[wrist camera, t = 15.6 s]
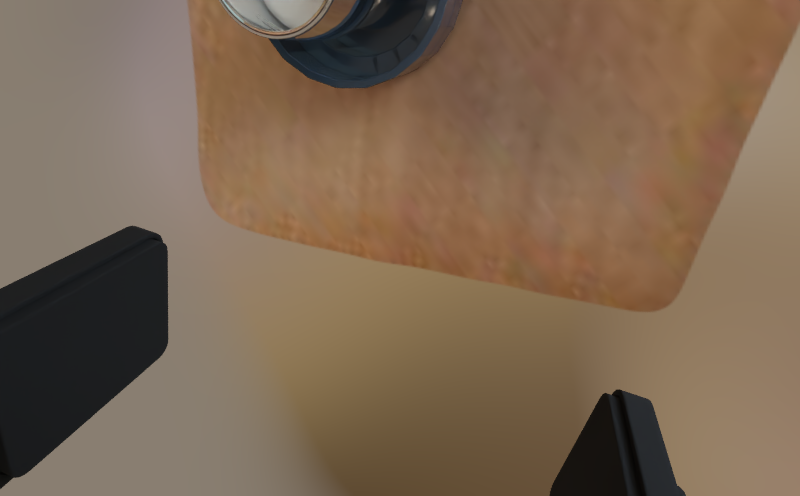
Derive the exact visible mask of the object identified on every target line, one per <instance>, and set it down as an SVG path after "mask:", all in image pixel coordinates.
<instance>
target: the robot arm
mask: <svg viewBox="0 0 800 496" xmlns="http://www.w3.org/2000/svg"><path fill="white" fill-rule="evenodd" d="M167 253H168V251H167V246H166V244H164V243H163V240H162V238H161V236H160V235H159V234H157V233H154V232H151V231H148V230H145V229H142V228H139V227H136V226H129V227H126V228H125V229H122V230H120V231H118V232H116V233H114V234H112V235H110V236H108V237H106V238H104V239H102V240H100V241H98V242H96V243H93V244H91V245H89V246H87V247H85V248H83V249H81V250H79V251H77V252H75V253H73V254H71V255H69V256H67V257H65V258H63V259H61V260H58V261H56V262H54V263H52V264H50V265H48V266H46V267H44V268H42V269H40V270H38V271H36V272H34V273H32V274H30V275H28V276H26V277H24V278H21V279H19V280H17V281H15V282H13V283H11V284H9V285H7V286H5V287H3V288H1V289H0V489H1V488H2V487H3V486H4V485H5V484H7V483H8V482H9V481H10V480H11V479H12V478H14V477H15V478H16V477H21V476H23V475H25V474H26V473H27V472H29V471H30V470H31V469H32V468H33V467H35V466H36V465H37V464H38V463H39V462H40V461H42V460H43V459H44V458H45V457H46V456H47V455H48V454H50V453H51V452H52V451H53V450H54V449H55V448H56V447H58V446H59V445H60V444H61V443H62V442H63V441H64V440H66V438H68V437H69V436H70V435H71V434H72V433H74V432H75V431H76V430H77V429H78V428H79V427H80V426H82V425H83V424H84V423H85V422H86V421H87V420H88V419H90V418H91V417H92V416H93V415H94V414H95V413H97V411H99V410H100V409H101V408H102V407H103V406H105V404H107V403H108V402H109V401H110V400H111V399H113V398H114V397H115V396H116V395H117V394H118V393H119V392H121V391H122V390H123V389H124V388H125V387H126V386H127V385H129V384H130V383H131V382H132V381H133V380H134V379H135V378H137V377H138V376H139V375H140V374H141V373H142V372H144V370H146V369H147V368H148V367H149V366H150V365H151V364H153V363H154V362H155V361H156V360H157V359H158V358H160V356H161V355H162V354H163V353H164V351H165V349H166V347H167V344H168V258H167V257H168V254H167ZM550 496H686V495H685V492H684V491H683V490H682V489H681V488H680V487H679V486H677V484H676V481H675V477H674V474H673V471H672V467H671V464H670V461H669V458H668V454H667V451H666V448H665V444H664V441H663V438H662V434H661V431H660V428H659V424H658V421H657V418H656V415H655V411H654V408H653V405H652V403H651V401H650V400H648V399H646V398H643V397H640V396H637V395H634V394H631V393H628V392H625V391H622V390H616V391H614V392H613V394H612V395H610V394H607V393H604V394H603V395H602V396H601V398H600V399H599V401H598V403H597V404H596V406H595V408H594V410H593V412H592V414H591V415H590V417H589V419H588V421H587V423H586V425H585V426H584V428H583V430H582V432H581V434H580V435H579V437H578V439H577V441H576V443H575V445H574V446H573V448H572V450H571V452H570V454H569V455H568V457H567V459H566V461H565V463H564V465H563V466H562V468H561V470H560V472H559V474H558V475H557V477H556V479H555V481H554V483H553V485H552V488H551V491H550Z"/></svg>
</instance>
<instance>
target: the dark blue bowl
mask: <svg viewBox="0 0 800 496" xmlns="http://www.w3.org/2000/svg"><path fill="white" fill-rule="evenodd" d="M462 1H463V0H411V1H410V3H409V6H408V8H407V10H406V11H405V13H404V14H403V16H402V17H401V18H400V19H399V20H398V21H397V22H396V23H395V24H393V25H392V26H390V27H388V28H386V29H383V30H379V31H366V30H362V29H359V28H358V29H357V30H355V31H353V32H351V33H349V34H347V35H344V36H342V37H339V38H336V39H332V40H325V41H318V42H302V41H292V40H285V39H271V38H269V40H270V41H271V43H272V44H273V45H274V47H275V48H276V49H277V51H278V52H279V53H280V55H281V56H282V57H283V58H284V60H286V61H287V62H288V63H290V64H291V65H292V66H294V67H295V68H296V69H298V70H299V71H300V72H301V73H303V74H304V75H305V76H307V77H308V78H310V79H313V80H316V81H318V82H321V83H324V84H327V85H330V86H333V87H335V88H368V87H371V86H374V85H376V84H379V83H382V82H385V81H388V80H390V79H393V78H396V77H399V76H401V75H404V74H407V73H410V72H412V71H415V70H416V69H418V68H419V67H420V66H421V65H423V64H424V63H425V62H426V61H428V60H429V59H430V58H431V57H432V56H434V55H435V54H436V53H437V52H438V51H439V49H440V48H441V46H442V45H443V43H444V42H445V40H446V39H447V37H448V36H449V34H450V33H451V31H452V30H453V28H454V26H455V23H456V20H457V17H458V14H459V11H460V7H461V4H462Z"/></svg>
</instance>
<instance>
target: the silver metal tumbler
mask: <svg viewBox="0 0 800 496" xmlns="http://www.w3.org/2000/svg"><path fill="white" fill-rule="evenodd" d="M219 1H220V3H221V5H222V6H223V7H224V9H225V10H226V11H227V13H228V14H229V15H230V16H231V17H232V18H233V19H234V20H235V21H236V22H237V23H238V24H240V25H241V26H242V27H244V28H245V29H247V30H248V31H250V32H252V33H254V34H256V35H259V36H262V37H265V38H271V39H285V40H292V41H302V42H318V41H325V40H332V39H336V38H339V37H342V36H344V35H347V34H349V33H351V32H353V31H355V30H357V29H358V28H359V29H362V30H366V31H379V30H383V29H386V28H388V27H390V26H392V25H393V24H395V23H396V22H397V21H398V20H399V19H400V18H401V17H402V16H403V14H404V13H405V11H406V10H407V8H408V6H409V3H410V1H411V0H219Z"/></svg>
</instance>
